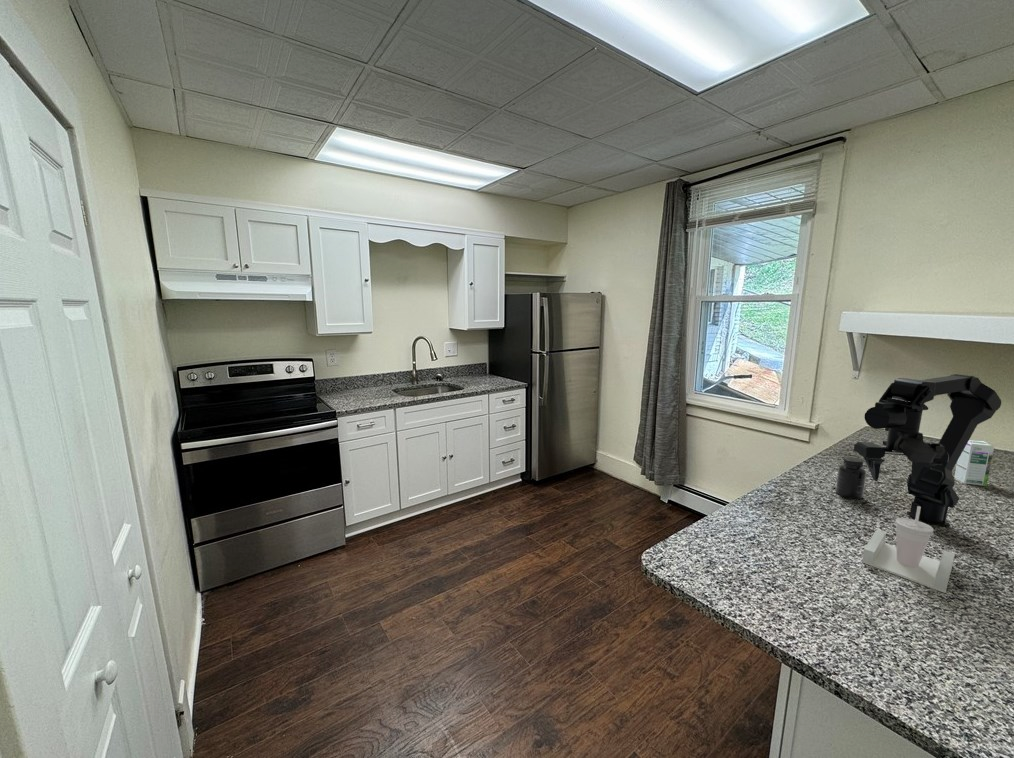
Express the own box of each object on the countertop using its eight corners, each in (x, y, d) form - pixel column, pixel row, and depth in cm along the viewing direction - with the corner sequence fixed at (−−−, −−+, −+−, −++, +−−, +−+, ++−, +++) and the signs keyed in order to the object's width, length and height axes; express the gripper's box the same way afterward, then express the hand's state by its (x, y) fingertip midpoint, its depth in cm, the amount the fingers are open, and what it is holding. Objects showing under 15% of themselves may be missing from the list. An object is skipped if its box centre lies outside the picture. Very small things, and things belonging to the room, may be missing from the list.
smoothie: (934, 568, 93) (945, 511, 91) (913, 573, 92) (924, 515, 89) (901, 552, 99) (910, 499, 97) (881, 556, 98) (891, 502, 96)
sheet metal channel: (874, 541, 105) (877, 529, 105) (952, 567, 95) (955, 553, 94) (861, 562, 96) (864, 548, 96) (945, 593, 86) (948, 578, 85)
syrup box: (964, 483, 140) (972, 443, 138) (953, 477, 146) (961, 438, 143) (986, 486, 138) (995, 445, 136) (974, 479, 143) (983, 440, 141)
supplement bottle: (856, 491, 134) (862, 457, 132) (867, 501, 127) (872, 464, 125) (831, 488, 136) (836, 454, 134) (840, 497, 130) (845, 461, 128)
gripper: (885, 433, 102) (876, 492, 104) (974, 437, 98) (962, 498, 101) (856, 421, 112) (848, 474, 115) (935, 424, 109) (925, 479, 112)
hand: (894, 481), depth 110 cm, fingers open, 9 cm apart
